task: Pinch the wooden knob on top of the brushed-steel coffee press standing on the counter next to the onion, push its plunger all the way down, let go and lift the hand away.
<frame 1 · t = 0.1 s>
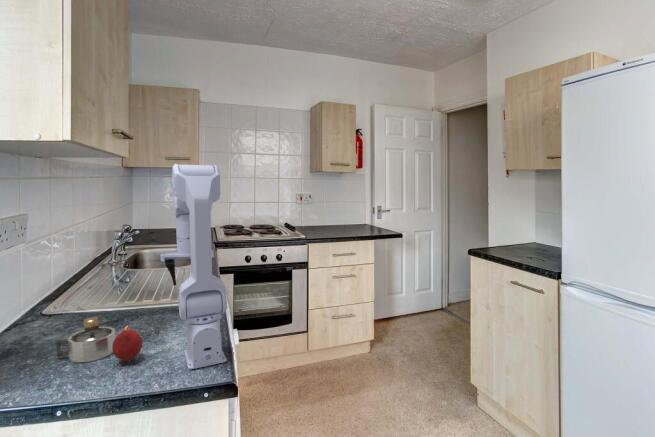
hand: (188, 283, 105), 10 cm above the counter, tool pointing down, fingers open, 7 cm apart
press pot: (93, 353, 83), on the counter
plunger: (91, 328, 82), point 6 cm above the counter, slide at 0.0 cm
onion: (128, 362, 79), on the counter
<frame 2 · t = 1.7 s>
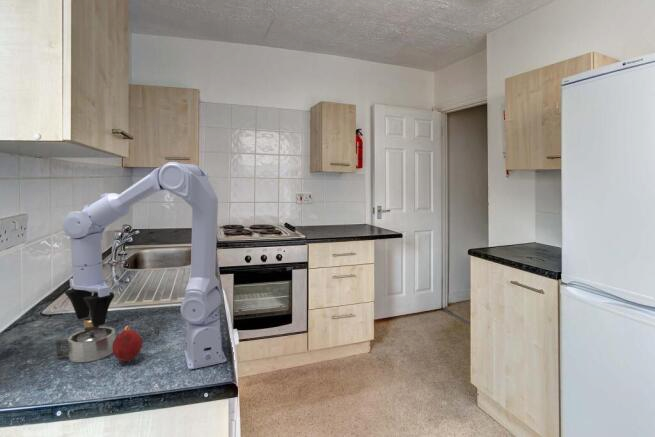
hand: (91, 321, 82), 8 cm above the counter, tool pointing down, fingers open, 7 cm apart
nothing on the counter moved.
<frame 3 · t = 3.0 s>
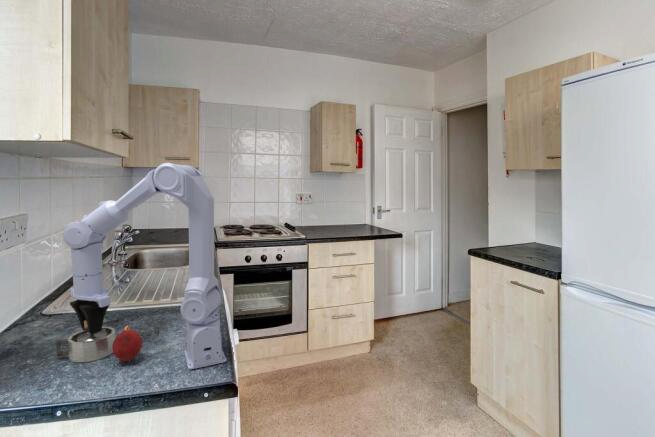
hand: (91, 330, 82), 5 cm above the counter, tool pointing down, fingers closed on plunger, 3 cm apart
plunger: (91, 328, 82), point 6 cm above the counter, slide at 0.0 cm, touching gripper
everything else where it was.
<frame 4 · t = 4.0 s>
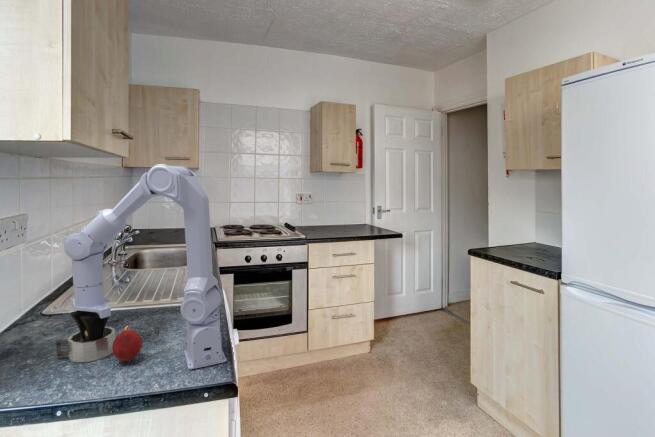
hand: (92, 341, 82), 3 cm above the counter, tool pointing down, fingers closed on plunger, 3 cm apart
plunger: (92, 339, 82), point 3 cm above the counter, slide at 2.5 cm, touching gripper
everything else where it was.
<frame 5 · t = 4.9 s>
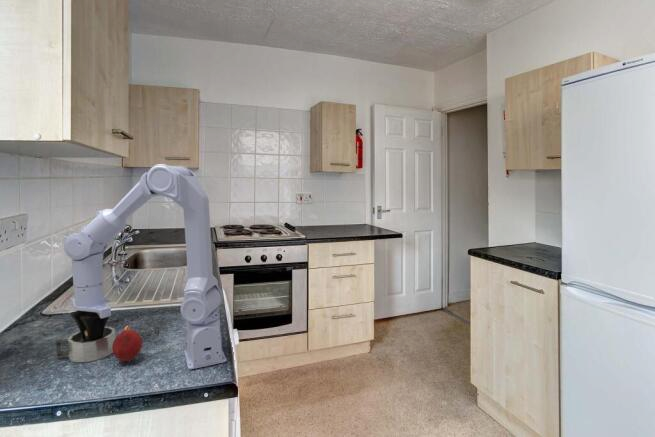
hand: (92, 341, 82), 3 cm above the counter, tool pointing down, fingers closed on plunger, 3 cm apart
plunger: (92, 339, 82), point 3 cm above the counter, slide at 2.5 cm, touching gripper
everything else where it was.
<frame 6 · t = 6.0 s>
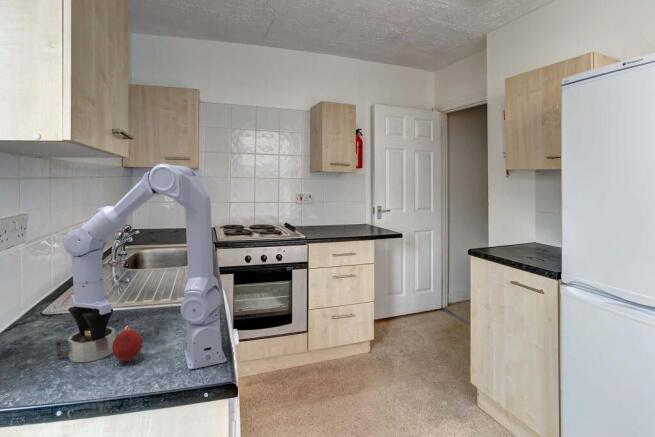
hand: (92, 337, 82), 4 cm above the counter, tool pointing down, fingers open, 5 cm apart
plunger: (92, 339, 82), point 3 cm above the counter, slide at 2.5 cm
everything else where it was.
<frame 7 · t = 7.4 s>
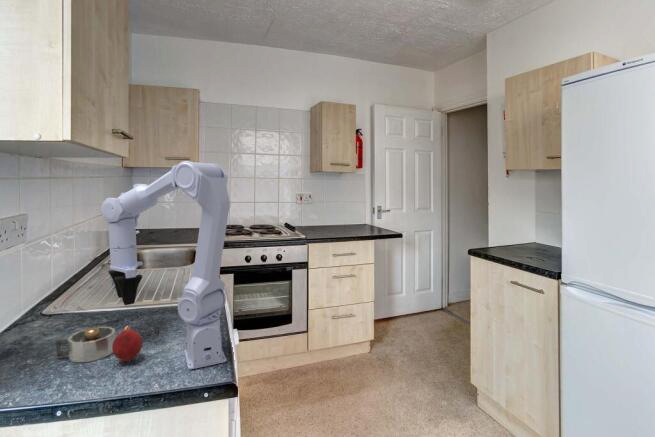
hand: (126, 300, 88), 10 cm above the counter, tool pointing down, fingers open, 6 cm apart
nothing on the counter moved.
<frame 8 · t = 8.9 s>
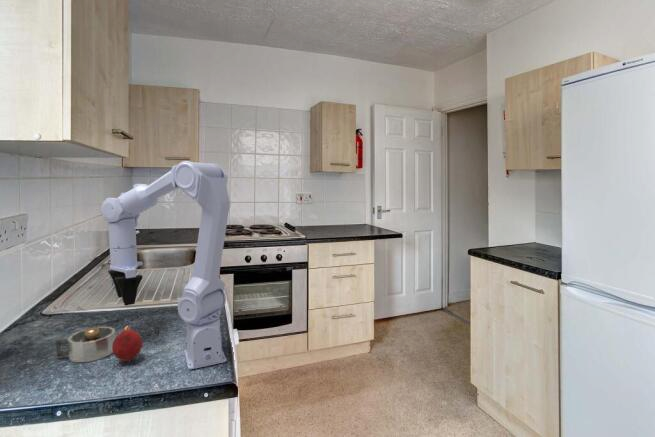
hand: (126, 300, 88), 10 cm above the counter, tool pointing down, fingers open, 7 cm apart
nothing on the counter moved.
at the end: plunger slide at 2.5 cm; the gripper is holding nothing; onion moved 0.2 cm from its start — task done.
